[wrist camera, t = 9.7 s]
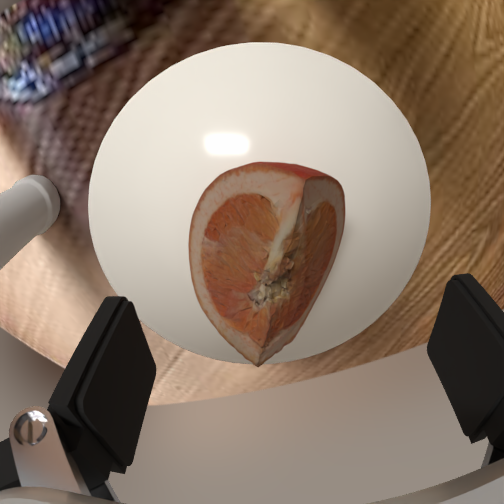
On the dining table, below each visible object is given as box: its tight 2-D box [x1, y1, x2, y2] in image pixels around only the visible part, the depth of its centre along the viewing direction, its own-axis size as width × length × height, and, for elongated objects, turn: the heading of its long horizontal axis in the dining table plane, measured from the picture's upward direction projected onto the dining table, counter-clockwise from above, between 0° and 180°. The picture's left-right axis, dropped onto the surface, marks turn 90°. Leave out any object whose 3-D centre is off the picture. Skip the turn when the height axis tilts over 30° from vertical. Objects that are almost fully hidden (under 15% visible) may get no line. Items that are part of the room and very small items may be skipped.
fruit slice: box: [188, 162, 345, 367], centre depth 13 cm, size 8×7×5 cm
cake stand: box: [88, 43, 431, 364], centre depth 20 cm, size 18×18×9 cm
